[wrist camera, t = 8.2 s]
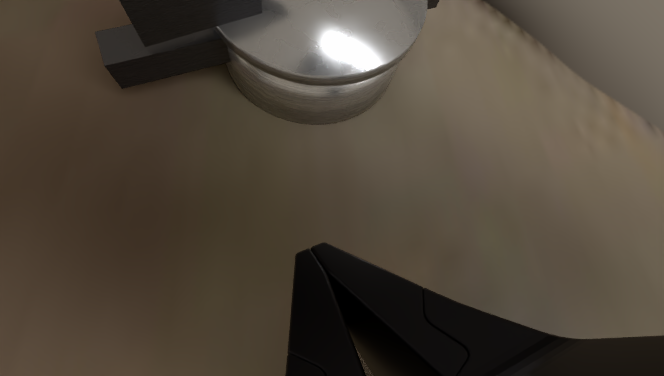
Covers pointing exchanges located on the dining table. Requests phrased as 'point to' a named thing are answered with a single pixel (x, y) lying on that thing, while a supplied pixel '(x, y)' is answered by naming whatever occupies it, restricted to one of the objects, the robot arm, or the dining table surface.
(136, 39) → the pot
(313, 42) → the lid
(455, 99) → the dining table surface
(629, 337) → the robot arm
